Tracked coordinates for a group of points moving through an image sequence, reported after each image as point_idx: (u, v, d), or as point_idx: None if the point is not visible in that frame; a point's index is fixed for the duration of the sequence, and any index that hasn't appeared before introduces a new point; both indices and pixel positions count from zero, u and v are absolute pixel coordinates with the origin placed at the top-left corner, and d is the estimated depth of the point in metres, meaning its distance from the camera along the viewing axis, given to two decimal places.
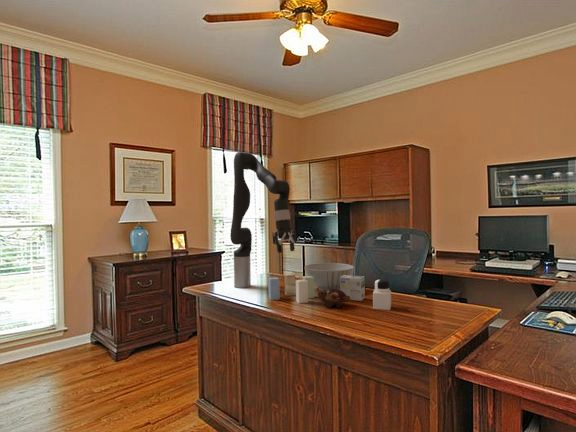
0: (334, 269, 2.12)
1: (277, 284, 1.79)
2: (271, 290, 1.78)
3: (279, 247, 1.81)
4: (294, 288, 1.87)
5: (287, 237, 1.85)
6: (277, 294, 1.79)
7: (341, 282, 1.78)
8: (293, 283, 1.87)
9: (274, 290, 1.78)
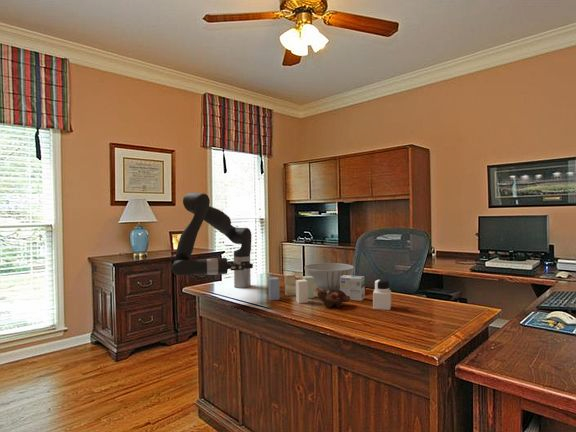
0: (334, 269, 2.12)
1: (277, 284, 1.79)
2: (271, 290, 1.78)
3: None
4: (294, 288, 1.87)
5: None
6: (277, 294, 1.79)
7: (341, 282, 1.78)
8: (293, 283, 1.87)
9: (274, 290, 1.78)
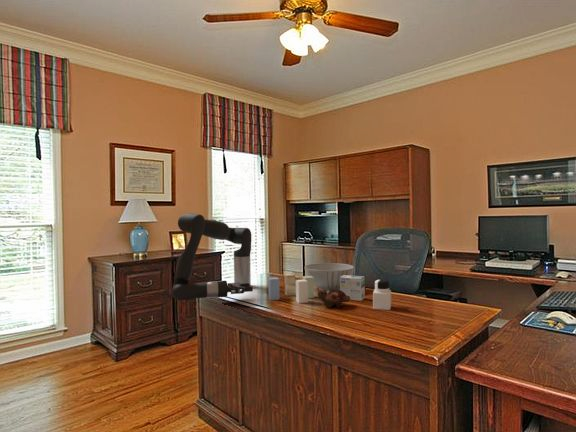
0: (334, 269, 2.12)
1: (277, 284, 1.79)
2: (271, 290, 1.78)
3: None
4: (294, 288, 1.87)
5: None
6: (277, 294, 1.79)
7: (341, 282, 1.78)
8: (293, 283, 1.87)
9: (274, 290, 1.78)
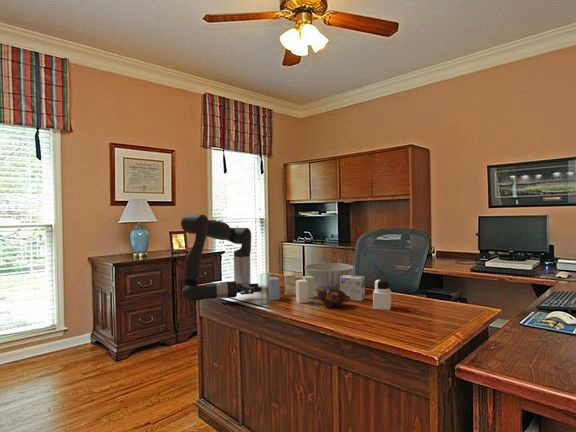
0: (334, 269, 2.12)
1: (277, 284, 1.79)
2: (271, 290, 1.78)
3: None
4: (294, 288, 1.87)
5: None
6: (277, 294, 1.79)
7: (341, 282, 1.78)
8: (293, 283, 1.87)
9: (274, 290, 1.78)
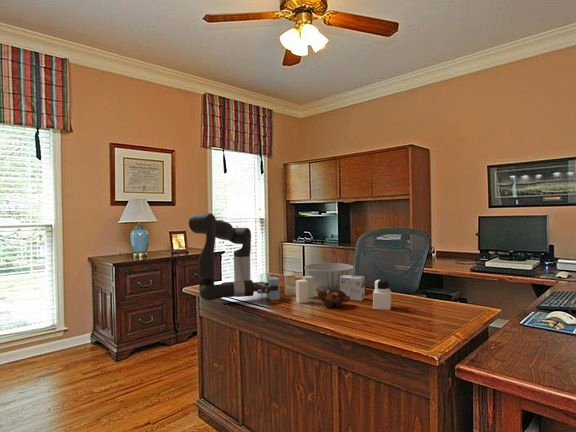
0: (334, 269, 2.12)
1: (277, 284, 1.79)
2: None
3: None
4: (294, 288, 1.87)
5: None
6: (277, 294, 1.79)
7: (341, 282, 1.78)
8: (293, 283, 1.87)
9: None
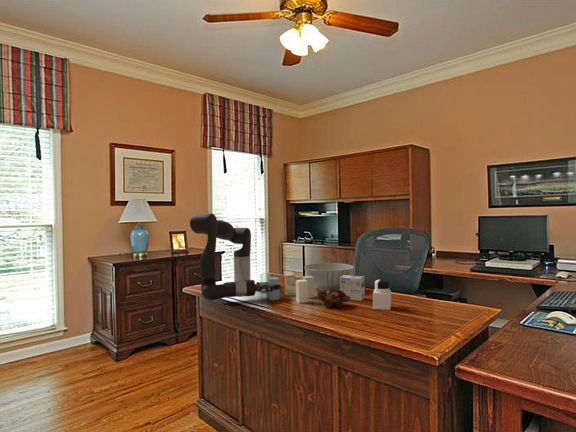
0: (334, 269, 2.12)
1: (277, 284, 1.79)
2: None
3: None
4: (294, 288, 1.87)
5: None
6: (277, 294, 1.79)
7: (341, 282, 1.78)
8: (293, 283, 1.87)
9: (274, 290, 1.78)
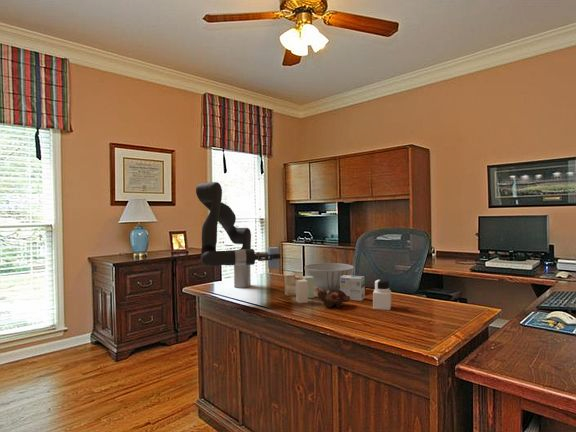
0: (334, 269, 2.12)
1: (277, 253, 1.78)
2: None
3: None
4: (294, 288, 1.87)
5: None
6: (277, 263, 1.78)
7: (341, 282, 1.78)
8: (293, 283, 1.87)
9: (273, 259, 1.78)
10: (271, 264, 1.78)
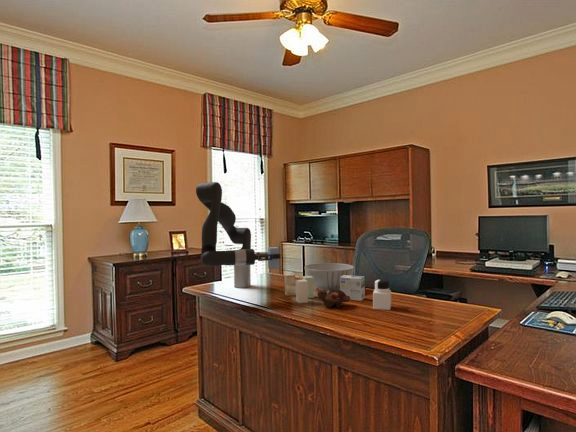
0: (334, 269, 2.13)
1: (277, 253, 1.78)
2: None
3: None
4: (294, 288, 1.87)
5: None
6: (277, 263, 1.78)
7: (341, 282, 1.78)
8: (293, 283, 1.87)
9: (273, 259, 1.78)
10: (271, 264, 1.78)
